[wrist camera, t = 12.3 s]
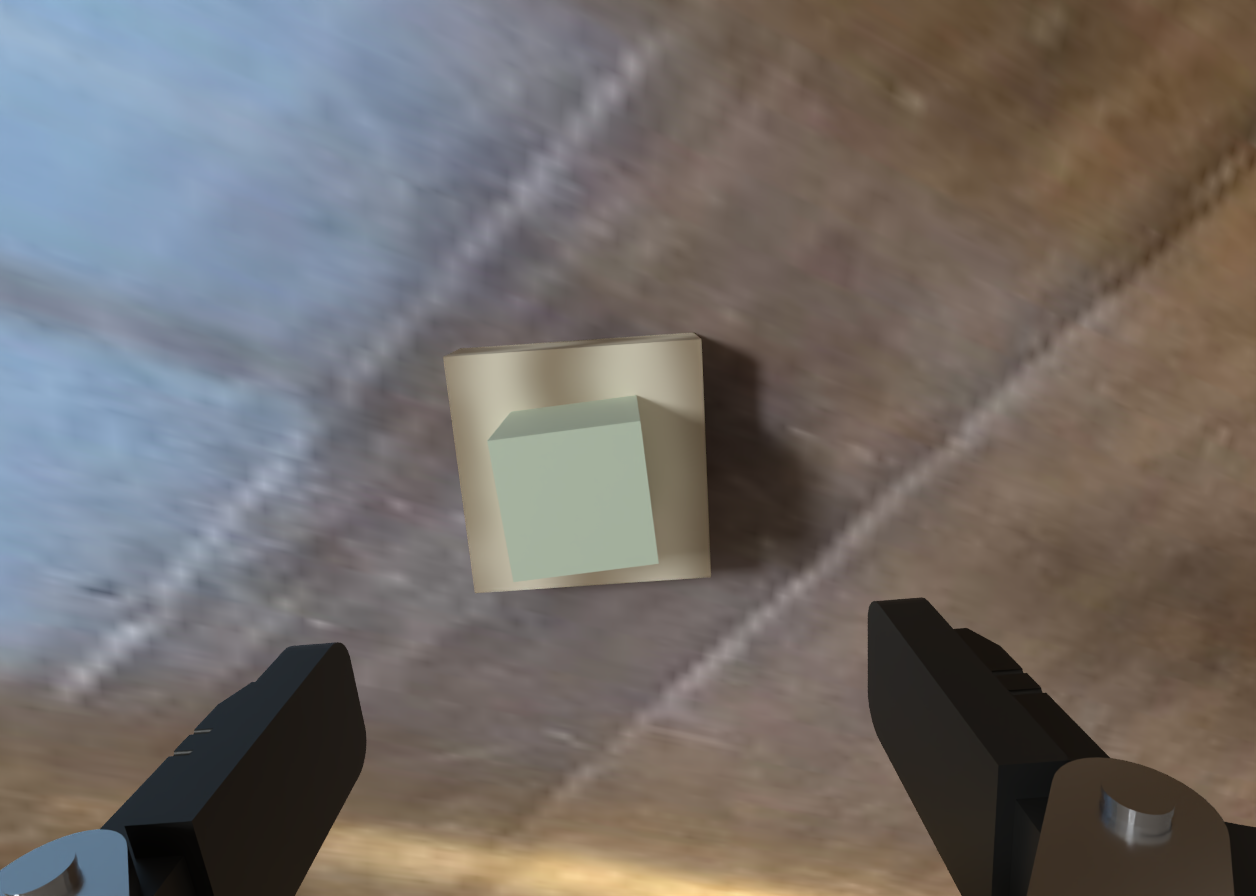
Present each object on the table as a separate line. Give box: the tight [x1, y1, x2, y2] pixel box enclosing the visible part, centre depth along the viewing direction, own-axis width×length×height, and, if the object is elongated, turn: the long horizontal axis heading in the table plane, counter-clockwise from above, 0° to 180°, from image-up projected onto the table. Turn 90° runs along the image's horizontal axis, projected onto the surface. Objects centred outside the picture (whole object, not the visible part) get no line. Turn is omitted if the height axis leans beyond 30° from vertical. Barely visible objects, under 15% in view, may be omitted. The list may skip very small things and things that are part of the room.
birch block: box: [443, 333, 711, 593], centre depth 35 cm, size 12×12×4 cm
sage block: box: [487, 395, 659, 582], centre depth 30 cm, size 6×6×6 cm
